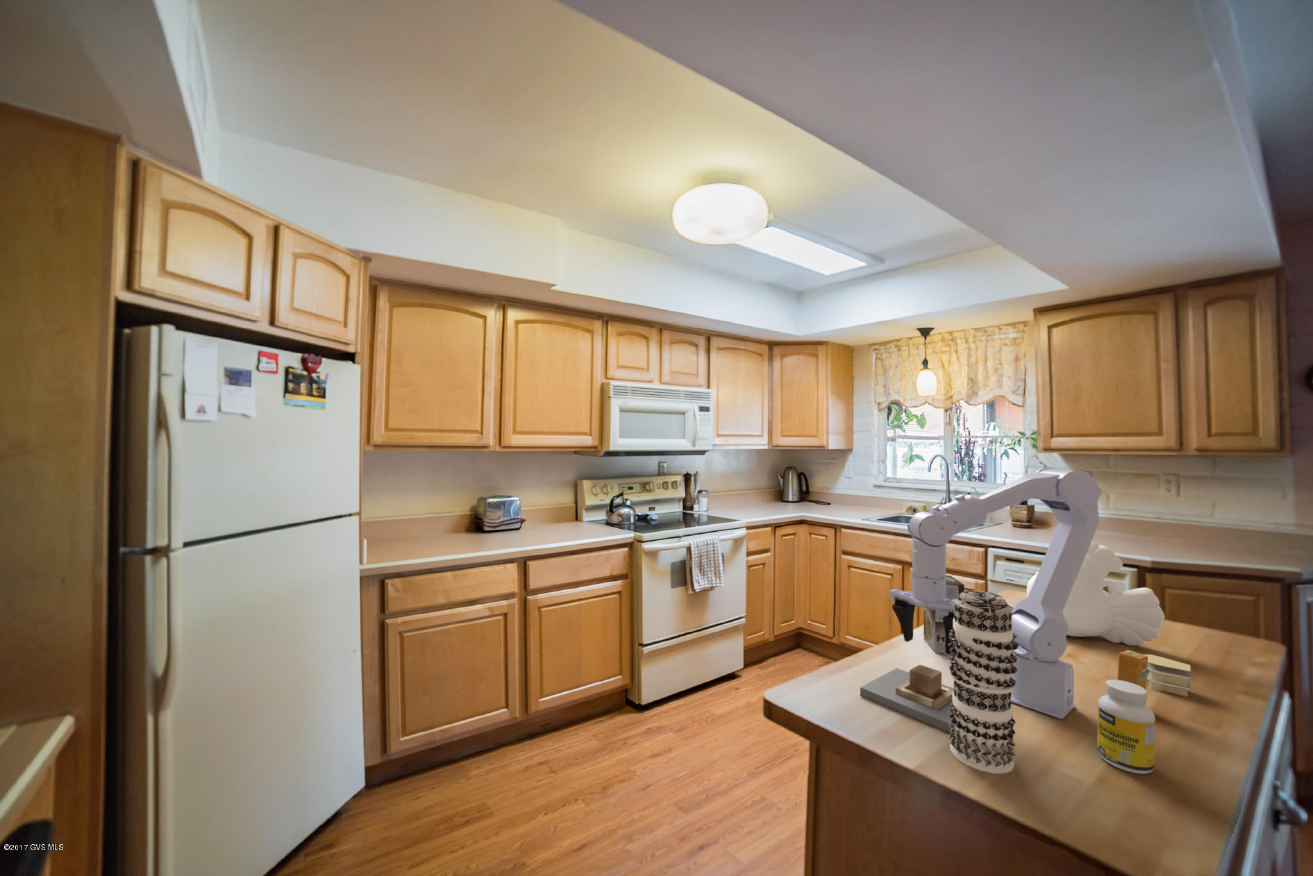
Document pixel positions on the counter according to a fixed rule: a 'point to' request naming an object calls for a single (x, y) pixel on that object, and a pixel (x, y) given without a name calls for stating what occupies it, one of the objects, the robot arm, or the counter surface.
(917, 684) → the walnut block
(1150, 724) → the pill bottle
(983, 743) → the decorative candle
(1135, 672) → the supplement box
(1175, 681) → the cream layered block
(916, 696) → the plate
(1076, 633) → the decorative rooster
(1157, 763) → the counter surface
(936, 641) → the coffee box
